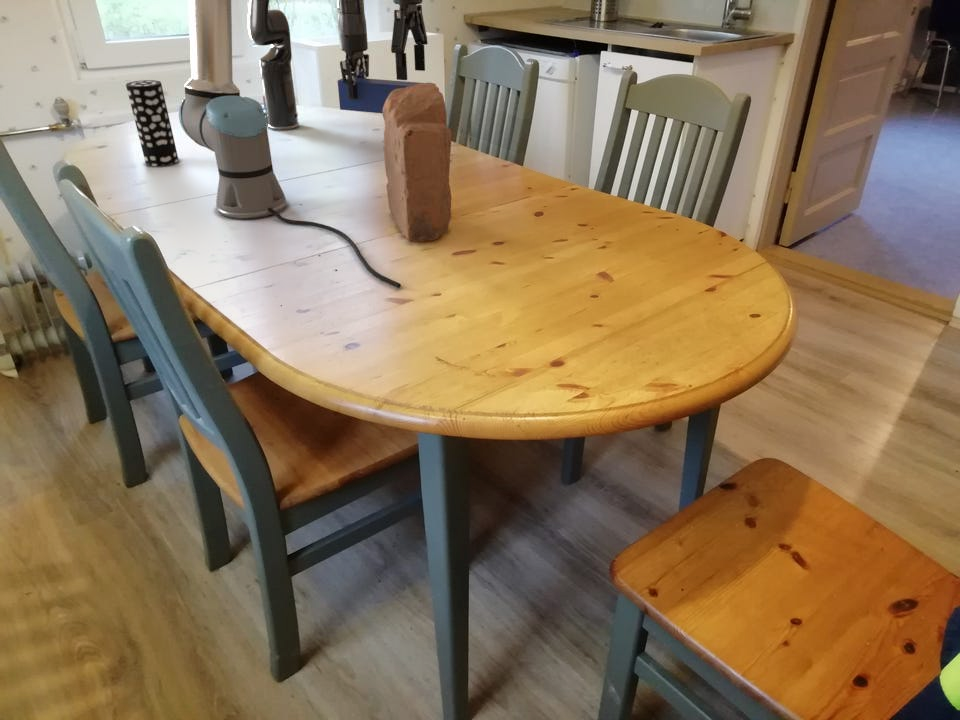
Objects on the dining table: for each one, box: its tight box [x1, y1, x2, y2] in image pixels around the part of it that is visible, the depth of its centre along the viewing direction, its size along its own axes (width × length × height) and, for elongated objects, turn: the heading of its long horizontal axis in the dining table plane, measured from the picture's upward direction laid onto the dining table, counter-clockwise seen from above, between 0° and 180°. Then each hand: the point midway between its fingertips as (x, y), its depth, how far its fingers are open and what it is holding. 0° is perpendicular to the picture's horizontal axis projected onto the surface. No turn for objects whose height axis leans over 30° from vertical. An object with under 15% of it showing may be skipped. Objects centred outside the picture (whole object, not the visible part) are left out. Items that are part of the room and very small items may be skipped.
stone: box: [382, 82, 452, 243], centre depth 143 cm, size 22×11×28 cm, turn 18°
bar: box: [337, 76, 419, 114], centre depth 192 cm, size 25×5×8 cm, turn 74°
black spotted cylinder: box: [125, 79, 179, 167], centre depth 181 cm, size 8×8×20 cm
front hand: (411, 75), depth 187 cm, fingers open, 13 cm apart
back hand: (357, 96), depth 194 cm, fingers closed on bar, 5 cm apart
